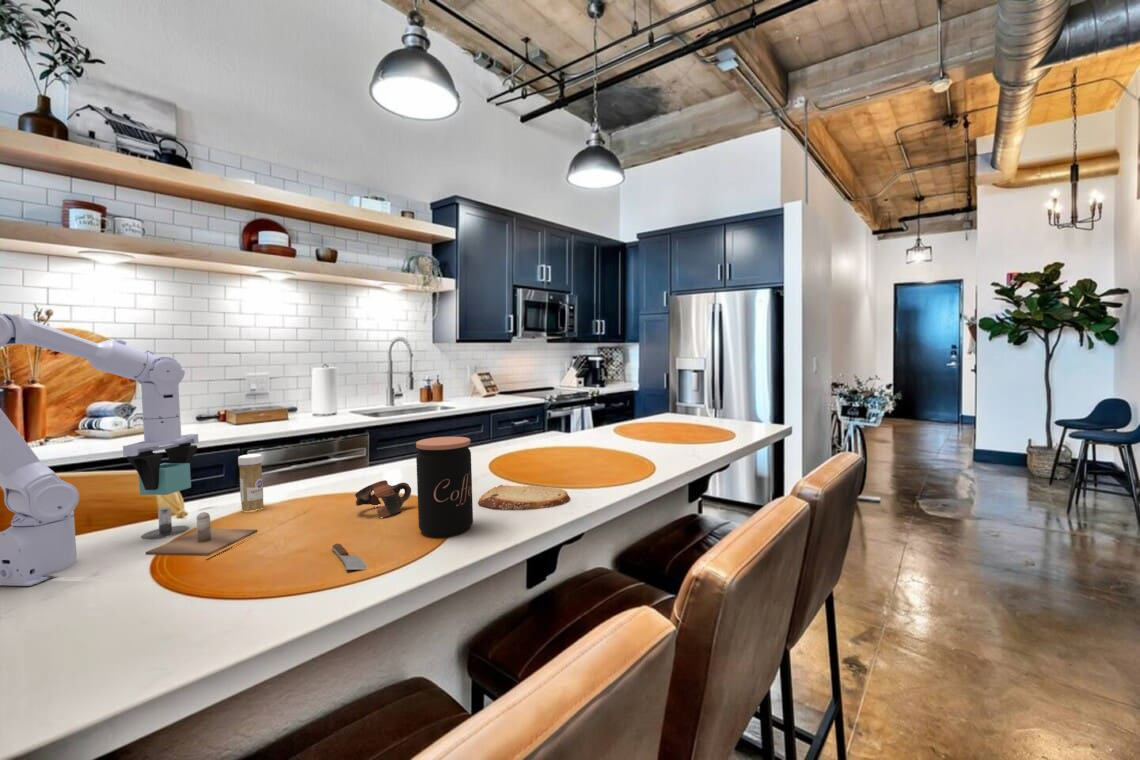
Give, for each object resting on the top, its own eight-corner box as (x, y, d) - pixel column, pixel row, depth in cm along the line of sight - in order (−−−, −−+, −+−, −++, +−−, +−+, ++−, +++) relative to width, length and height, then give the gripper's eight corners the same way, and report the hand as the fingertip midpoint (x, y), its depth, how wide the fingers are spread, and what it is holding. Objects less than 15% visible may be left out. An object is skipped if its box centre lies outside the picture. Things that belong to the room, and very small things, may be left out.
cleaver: (376, 564, 83) (343, 565, 80) (374, 573, 83) (342, 575, 80) (360, 542, 94) (332, 542, 91) (359, 550, 94) (330, 550, 91)
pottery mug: (368, 525, 106) (352, 490, 107) (363, 533, 113) (349, 500, 115) (421, 500, 113) (406, 468, 114) (413, 509, 120) (399, 478, 122)
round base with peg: (166, 543, 96) (164, 515, 96) (130, 542, 97) (128, 514, 97) (199, 529, 104) (197, 503, 103) (165, 529, 104) (164, 503, 104)
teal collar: (166, 494, 96) (165, 469, 96) (139, 494, 97) (138, 469, 97) (191, 487, 102) (189, 463, 102) (165, 487, 102) (164, 463, 102)
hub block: (208, 559, 87) (206, 523, 87) (145, 558, 89) (143, 522, 88) (257, 535, 99) (256, 503, 99) (202, 534, 100) (200, 502, 100)
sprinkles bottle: (258, 515, 112) (255, 456, 112) (236, 517, 112) (233, 457, 111) (268, 509, 117) (265, 452, 116) (247, 510, 116) (244, 453, 116)
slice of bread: (577, 501, 120) (576, 485, 119) (520, 520, 106) (520, 503, 106) (526, 489, 132) (526, 475, 132) (470, 505, 118) (469, 489, 118)
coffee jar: (433, 543, 93) (430, 447, 92) (409, 529, 101) (406, 441, 100) (483, 529, 100) (480, 440, 99) (457, 517, 108) (454, 434, 107)
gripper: (146, 422, 91) (150, 495, 92) (210, 413, 105) (213, 476, 106) (110, 422, 92) (115, 495, 92) (179, 413, 106) (183, 476, 107)
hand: (165, 485), depth 99 cm, fingers closed on teal collar, 6 cm apart
